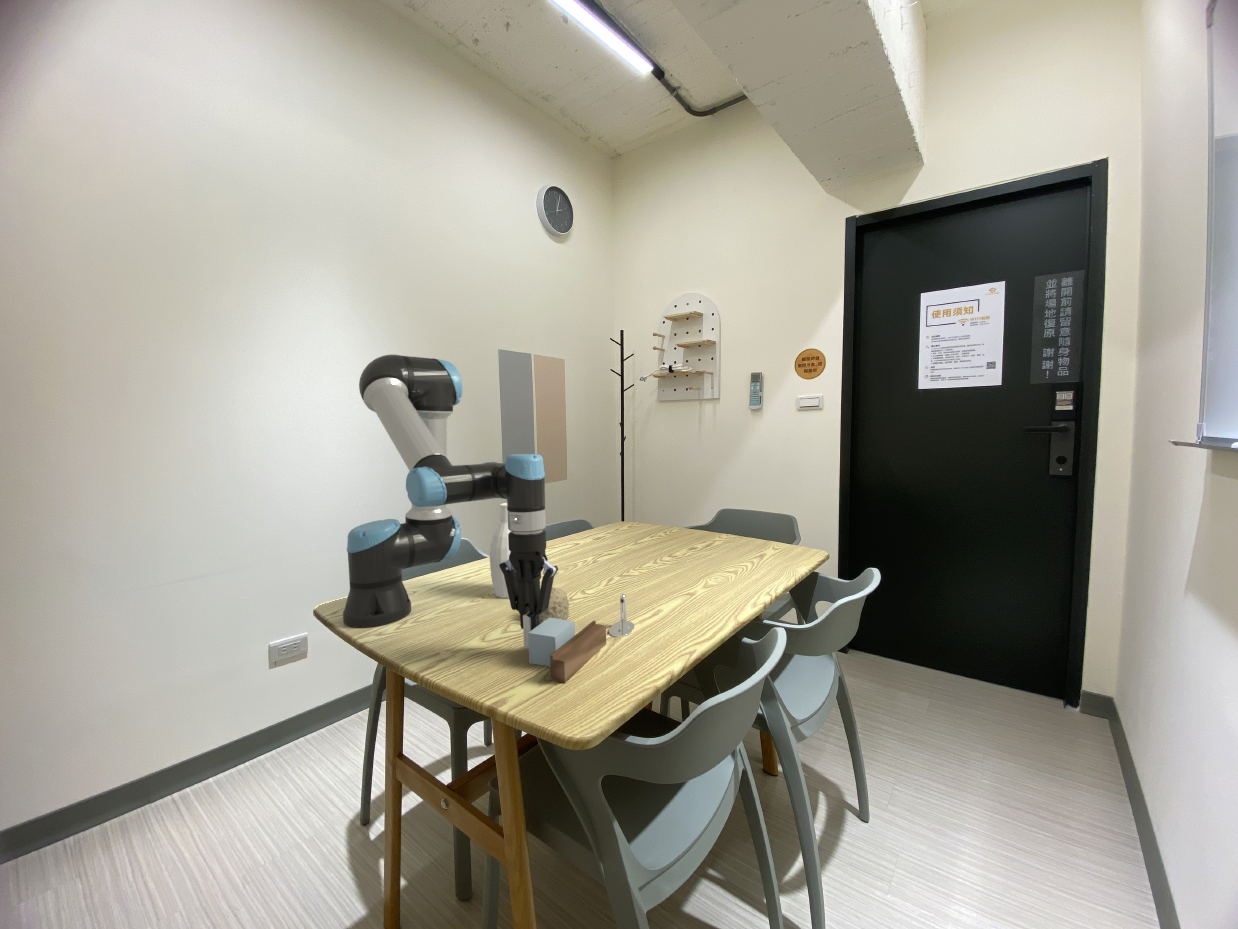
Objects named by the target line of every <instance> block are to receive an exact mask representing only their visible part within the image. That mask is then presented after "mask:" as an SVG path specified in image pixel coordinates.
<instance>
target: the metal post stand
mask: <svg viewBox="0 0 1238 929" xmlns="http://www.w3.org/2000/svg"><path fill="white" fill-rule="evenodd" d="M619 602H620V605H619V606H620V620H619V621H616V622H613V624H612V625H611V627H610V628H609V629H608V634H609V635H610V636H611V637H614V638H624V637H627V636H629V635H631V634H632V632H633V631H634V629H635V624H634V622H632V621H628V618H627V616H628V614H627V613H628V611H627V610H628V608H627V595H626V594H625V593H621V595H620V599H619Z"/></svg>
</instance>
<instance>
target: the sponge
mask: <svg viewBox="0 0 1238 929" xmlns="http://www.w3.org/2000/svg"><path fill="white" fill-rule="evenodd" d="M569 604H570V602H569V599H568V595H567V592H565V590H564V589H562V588H560V587H559V588H558V587H554V586H552V590H551V595H550V601H549V606H548V609H547V610H546V611H544V612H543V613H541V614H540V624H541V623H542V622H544V621H545V620H547V619H548V618H555V619H562V620H567V619H569V617H570V616H569V614H570V611H569V608H570V605H569Z"/></svg>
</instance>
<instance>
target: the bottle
mask: <svg viewBox="0 0 1238 929" xmlns="http://www.w3.org/2000/svg"><path fill="white" fill-rule="evenodd" d="M499 507H500V512H499V513H500V514H499V515H500V516H499V517H500V519H499V520H500V521H499V523H498V525H497V527H496V529H495V531H494V533H493V535H492V538H491V543H490V550H489V564H490V565H489V566H490V567H489V568H490V578H491V582H492V586H493V593H494V596H496V597H497V598H500V599H509V595H508V591H507V587H506V582H505V578H504V574H503V572H502V571H501V569H500V567H499V565H500V564H501V563H503V562H506V561H507V560H508V559H509V555H510V552H511V551H510V550H509V545H508V534H509V533H510V532H511V531H510V530H509V529H508V510H507V502H504V503H500V504H499Z"/></svg>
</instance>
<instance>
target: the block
mask: <svg viewBox="0 0 1238 929" xmlns="http://www.w3.org/2000/svg"><path fill="white" fill-rule="evenodd" d="M575 635H576V622H575V621H574V620H569V619H568V620H567V619H566V620H562V619H555V618H548V619H547V620H545V621H544V622H542V623H541V624H540V625H538V626H537V627H536V628H534V629H533V630H531V631H530V632H529V633H528V641H529V648H528V662H529V664H533V665H538V666H544V667H549V668H550V655H551V654H552V653H554V652H555V651H556V650H557V649H559V648H560V647H561V646H562V645H563V644H565V643H566V642H567V641H568V640H570V639H571V638H572V637H573V636H575Z"/></svg>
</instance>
